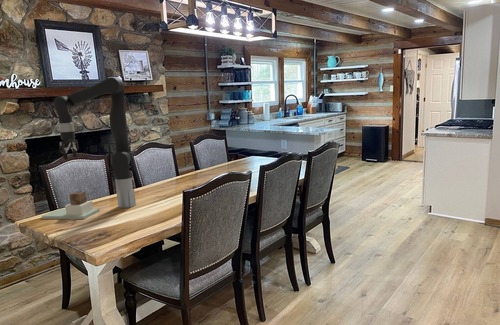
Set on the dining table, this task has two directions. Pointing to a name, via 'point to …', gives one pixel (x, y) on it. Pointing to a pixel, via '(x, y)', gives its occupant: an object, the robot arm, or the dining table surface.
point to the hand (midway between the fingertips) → (70, 158)
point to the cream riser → (79, 208)
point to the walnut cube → (78, 198)
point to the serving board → (62, 215)
